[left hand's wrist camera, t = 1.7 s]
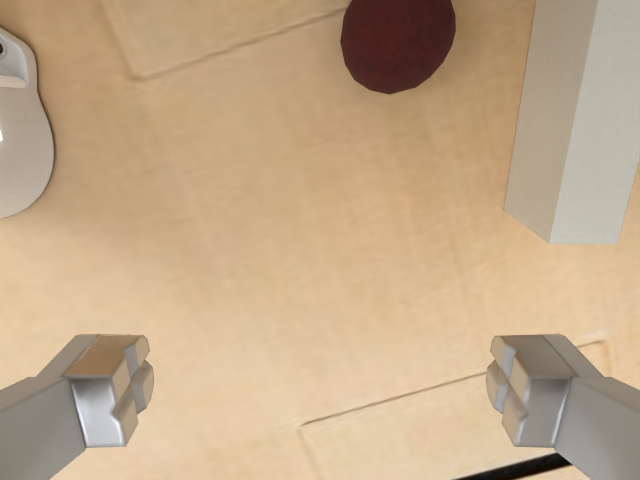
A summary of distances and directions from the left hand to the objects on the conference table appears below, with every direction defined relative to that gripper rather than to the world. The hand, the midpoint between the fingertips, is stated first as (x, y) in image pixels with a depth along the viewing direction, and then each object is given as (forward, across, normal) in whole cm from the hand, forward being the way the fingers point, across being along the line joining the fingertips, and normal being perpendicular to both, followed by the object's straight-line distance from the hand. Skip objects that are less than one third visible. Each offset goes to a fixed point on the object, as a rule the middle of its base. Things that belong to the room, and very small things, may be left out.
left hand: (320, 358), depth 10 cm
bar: (+27, -18, -9) cm, 34 cm away
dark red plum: (+27, -5, -9) cm, 29 cm away
